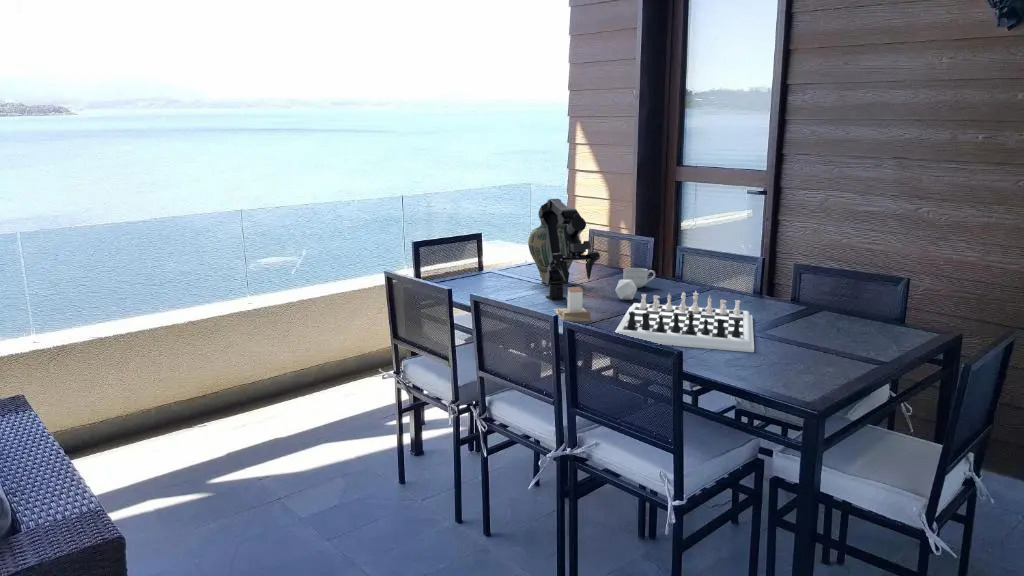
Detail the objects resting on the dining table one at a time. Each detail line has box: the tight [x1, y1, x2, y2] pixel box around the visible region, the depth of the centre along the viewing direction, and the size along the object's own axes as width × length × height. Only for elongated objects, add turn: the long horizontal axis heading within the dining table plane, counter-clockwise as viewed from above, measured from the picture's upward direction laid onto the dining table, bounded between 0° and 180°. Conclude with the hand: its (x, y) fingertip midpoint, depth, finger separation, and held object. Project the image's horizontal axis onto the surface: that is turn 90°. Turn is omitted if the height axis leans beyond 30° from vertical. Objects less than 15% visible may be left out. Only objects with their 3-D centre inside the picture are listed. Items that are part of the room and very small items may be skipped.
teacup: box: [622, 267, 656, 289], centre depth 331 cm, size 14×11×8 cm
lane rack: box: [553, 307, 592, 322], centre depth 280 cm, size 19×10×4 cm, turn 8°
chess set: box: [614, 290, 755, 353], centre depth 263 cm, size 45×45×11 cm
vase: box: [527, 222, 574, 284], centre depth 337 cm, size 22×22×30 cm
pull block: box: [566, 286, 584, 313], centre depth 275 cm, size 4×4×11 cm
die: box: [614, 279, 638, 300], centre depth 308 cm, size 8×9×10 cm
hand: (577, 279), depth 281 cm, fingers open, 9 cm apart
